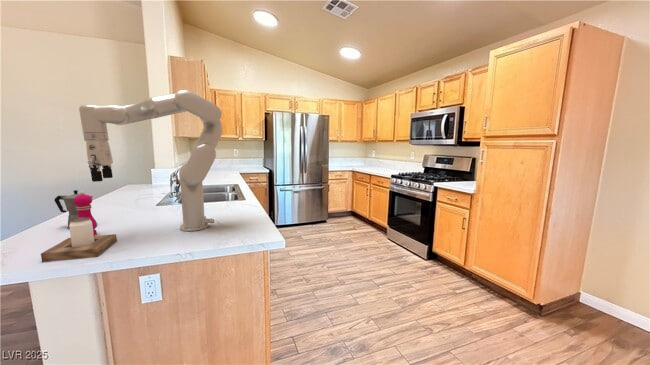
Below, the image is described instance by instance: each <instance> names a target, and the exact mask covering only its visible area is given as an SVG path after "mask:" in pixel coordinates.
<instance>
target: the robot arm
mask: <svg viewBox="0 0 650 365" xmlns="http://www.w3.org/2000/svg"><path fill="white" fill-rule="evenodd" d="M78 111H79V112H78V113H79V116H80V122H81V123H80V124H81V129H82V135H83V140H84V142H86V143H85V144H86V146H85V147H86V157H87V163H88V168H89V172H90V176H91V181H92V182H94V183H95V182H103V179H112V178H113V171H112V170H113V169H112V164H113V163H114V161H113V160H114V159H113V156H112V151H111V147H110V143H109V141H110V140H109V133H108V126H107V124H111V125H117V126H123V125H128V124H134V123H138V122H139V123H140V122H142V121H147V120H153V119H159V118H162V117H163V118H164V117H167V116H172V115H176V114H181V113H186V112H188V113H190V114H192V115H194V116H196V117H198V118H199V120H201V121H202V124H203V129H202V130H201V133H200V134H199V137H198V139H197V140H196V142H195V143H194V145H193V147H192V148H191V155H190V157H189V159H188V161H187V162H186V163H184V164H182V166H181V167H180V168H179V173H178V174H179V175H178V177H179V183H180V195H181V211H182V213H181V214H182V224H180V226H179V230H180V231H183V232H197V231H200V230H204V229H206V228H208V227H209V224H214V223H215V218H212V217H211V218H207V216H206V215H205V204H204V203H205V201H204V185H203V182H204V180H205V178H206V177H207V175H208V174H209V171H210V170H211V168H212V167H213V164H214V162H215V159H216V156H217V151H216V147H217V146H218V143H219V141H220V140H221V137H222V135H223V125H222V122H221V118H222V110H221V108H220V107H219V106H218V105H217V104H215V103H213V102H212V101H209V100H207V98H204V97H202V96H200V95H198V94H196V93H194V92H193V91H190V90H188V89H180V90H178V91H177V92H175V93H170V94H163V95H157V96H153V97H149V98H147V99H145V100H143V101H140V102H137V103H134V104H128V105H124V106H120V105H118V104H116V105H115V104H109V105H97V104H83V105H80V106H79V108H78ZM101 167H102V168H101Z"/></svg>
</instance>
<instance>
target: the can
mask: <svg viewBox="0 0 650 365" xmlns="http://www.w3.org/2000/svg"><path fill="white" fill-rule="evenodd" d="M70 222H71V223H70V225H69V228H70V229H69V234H70V238H71V242H72V247H79V246H89V245H91V244H92V243H93V242H95V241H94V233H93V225H92V221H91V220H90V218H78V219H74V220H71V221H70Z"/></svg>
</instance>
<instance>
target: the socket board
mask: <svg viewBox="0 0 650 365" xmlns="http://www.w3.org/2000/svg"><path fill="white" fill-rule="evenodd" d="M94 241H95V242H93V243H92V244H91V245H89V246H79V247H72V242H71V237H67V238H66V239H64V240H62V241H60V242H59V243H57V244H56V245H54V246H51V247H50V248H48V249H47V250H45V251H43V252H41V253H40V257H41V258H40V259H41V262H42V263H44V262H54V261H55V262H56V261H66V260H76V259H87V258H98V257H99V256H101V255H102V254H104V252H105V251H107V250H108V249H109V248H110V247H112V246H113V245H114V244H115V243H116V242H118V238H117V233H116V234H101V235H95V236H94Z"/></svg>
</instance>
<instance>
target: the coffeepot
mask: <svg viewBox="0 0 650 365" xmlns="http://www.w3.org/2000/svg"><path fill="white" fill-rule="evenodd" d="M78 192H79V191H78V190H77V189H76V190H73V193H74V194H71V195H70V194H69V195H57V196H56V197H55V198H54V202H55V204H56V206H57V208H58V210H59V211H60V213H67V212H68V215H67V217H68V219H67V230H70V228H69V225H70V223H71V222H70V221H71V220H74V219H78V210H76V209H77V208H76V207H77V205H75V204H74V198H75V197H76V196H78V195H80V194H79V193H78ZM90 196H91V198H92V199H93V195H90ZM61 200H63V202H64V204H65V208H66V210H65V209H64V206H63V205H62V204H61Z"/></svg>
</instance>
